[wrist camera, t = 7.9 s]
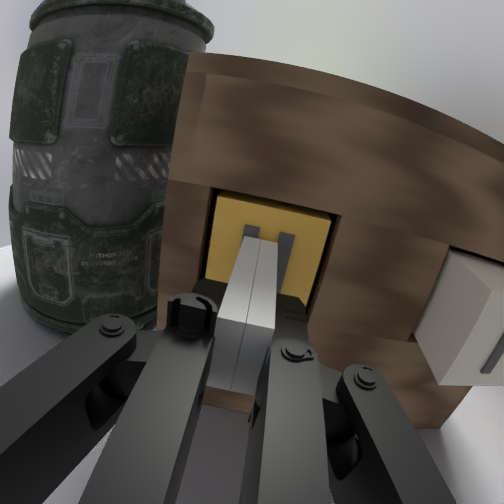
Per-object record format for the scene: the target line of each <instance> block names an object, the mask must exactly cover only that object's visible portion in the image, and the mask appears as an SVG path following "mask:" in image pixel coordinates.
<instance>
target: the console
mask: <svg viewBox="0 0 504 504" xmlns="http://www.w3.org/2000/svg"><path fill="white" fill-rule="evenodd" d="M224 190H230V191H235V192H240V193H245V194H250V195H255V196H260V197H264V198H269V199H274V200H278V201H283V202H287V203H292V204H296V205H301V206H305V207H309V208H313V209H318V210H322V211H326V212H327V214H328V216H329V218H330V220H331V223H330V227H329V231H328V234H327V238H326V241H325V245H324V248H323V252H322V255H321V258H320V262H319V265H318V269H317V272H316V275H315V278H314V282H313V285H312V288H311V291H310V295H309V298H308V301H307V304H306V307H305V310H306V319H307V321H306V322H307V328H308V338H309V345H310V346H311V347H312V348H313V349H314V350H315V352H316V354H317V357H318V361H319V362H320V363H322V364H323V365H325V366H327V367H329V368H332V369H334V370H337V371H340V372H342V373H343V371H344V369H346V368H347V367H348V366H349V365H354V364H362V365H367V366H369V367H372V368H374V369H375V370H377V371H378V372H380V374H381V375H382V376H383V377H384V378H385V380H386V382H387V383H388V385H389V386H390V388H391V390H392V391H393V393H394V395H395V396H396V398H397V400H398V401H399V403H400V404H401V406H402V408H403V409H404V411H405V413H406V414H407V416H408V418H409V420H410V421H411V423H412V425H413V426H414V428H436V427H441V426H442V425H443V424H444V422H445V421H446V420H447V419H448V418H449V416H450V415H451V414H452V413H453V411H454V410H455V409H456V408H457V406H458V405H459V404H460V402H461V401H462V400H463V399H464V397H465V396H466V394H467V393H468V392H469V390H470V389H471V388H472V386H451V385H438V383H437V381H436V379H435V376H434V374H433V372H432V370H431V368H430V366H429V364H428V362H427V360H426V358H425V356H424V354H423V352H422V350H421V348H420V346H419V344H418V342H417V340H416V338H415V336H414V334H413V332H412V330H413V328H414V326H415V324H416V322H417V320H418V318H419V316H420V314H421V312H422V310H423V308H424V306H425V303H426V301H427V299H428V297H429V295H430V292H431V290H432V288H433V285H434V283H435V281H436V278H437V276H438V273H439V271H440V269H441V266H442V264H443V261H444V258H445V256H446V253H447V250H448V248H450V249H453V250H457V251H460V252H463V253H466V254H470V255H473V256H476V257H479V258H482V259H486V260H489V261H492V262H495V263H498V264H501V265H504V144H502V143H501V142H499V141H497V140H495V139H493V138H492V137H490V136H488V135H486V134H484V133H482V132H480V131H479V130H477V129H475V128H473V127H471V126H469V125H467V124H465V123H463V122H461V121H459V120H456V119H455V118H452V117H450V116H448V115H446V114H444V113H441V112H439V111H437V110H435V109H432V108H430V107H428V106H425V105H423V104H420V103H418V102H415V101H413V100H410V99H407V98H405V97H402V96H400V95H397V94H394V93H391V92H389V91H386V90H383V89H380V88H376V87H374V86H371V85H368V84H364V83H361V82H358V81H354V80H351V79H347V78H344V77H340V76H337V75H333V74H329V73H325V72H321V71H316V70H313V69H308V68H304V67H299V66H294V65H290V64H285V63H279V62H274V61H268V60H262V59H255V58H248V57H241V56H234V55H224V54H215V53H203V52H190V54H189V59H188V63H187V68H186V73H185V78H184V83H183V88H182V93H181V98H180V104H179V109H178V115H177V121H176V127H175V133H174V139H173V146H172V153H171V160H170V167H169V175H168V183H167V191H166V200H165V209H164V219H163V229H162V241H161V253H160V267H159V284H158V306H157V330H162V329H165V327H166V321H167V305H168V300H169V299H170V298H171V297H172V296H174V295H177V294H181V293H191V292H192V289H193V287H194V286H195V284H196V283H197V282H199V281H200V280H202V279H204V278H205V275H206V268H207V261H208V254H209V248H210V241H211V234H212V228H213V221H214V215H215V209H216V202H217V196H218V195H219V194H220V193H221V192H223V191H224ZM232 380H233V379H232ZM231 385H232V383H231ZM230 390H231V388H230ZM255 396H256V391H255V394H254V395H248V394H243V393H238V392H233V391H229V390H224V389H219V388H215V387H211V386H205V392H204V398H203V402H202V403H204V404H208V405H212V406H217V407H221V408H225V409H230V410H235V411H240V412H245V413H251V410H252V407H253V404H254V401H255Z"/></svg>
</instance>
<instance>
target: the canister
mask: <svg viewBox="0 0 504 504" xmlns="http://www.w3.org/2000/svg"><path fill="white" fill-rule="evenodd" d="M29 27H30V29H31V31H32V33H31V35H30V39H29V43H28V47H27V49H26V50H25V51H24V52H23V53H22V54H21V57H20V61H19V66H18V72H17V77H16V83H15V89H14V97H13V105H12V112H11V122H10V134H9V138H10V139H11V140H12V141H14V144H13V184H12V185H11V186H10V196H9V220H10V232H11V242H12V251H13V259H14V266H15V272H16V278H17V284H18V287H19V290H20V297H21V301H22V303H23V305H24V308H25V309H26V310H27V312H28V313H29V314H30V315H31V316H32V317H33V318H34V319H35V320H36V321H37V322H41V323H42V324H44V325H46V326H49V327H51V328H53V329H56V330H59V331H63V332H68V333H72V334H73V333H75V332H76V331H78V330H79V329H80V328H82V327H83V326H85V325H86V324H88V323H89V322H90V321H92V320H93V319H95V318H96V317H99V316H101V315H104V314H110V313H112V314H121V315H124V316H127V317H128V318H130V319H131V320H133V322H134V323H135V325H136V330H140V329H142V328H143V327H144V325H145V324H146V323H147V322H149V321H151V320H152V319H154V318H156V317H157V306H158V284H159V267H160V253H161V241H162V229H163V219H164V209H165V200H166V191H167V183H168V175H169V167H170V160H171V153H172V146H173V139H174V133H175V127H176V121H177V115H178V109H179V104H180V98H181V93H182V88H183V83H184V78H185V73H186V68H187V63H188V59H189V54H190V52H203V53H205V49H206V44H207V43H209V42H210V40H212V38H213V35H214V26H213V24H212V22H211V21H210V20H209V19H208V18H207V17H205V16H204V15H203V14H202V13H200V12H198V11H197V10H196V9H194V8H193V7H192V6H190V5H189V4H187V3H186V2H185V0H44V1H43V2H42V3H41V4H40V5H39V6H38V7H37V9H36V10H35V11H34V12H33V14H32V15H31V19H30V26H29Z"/></svg>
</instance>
